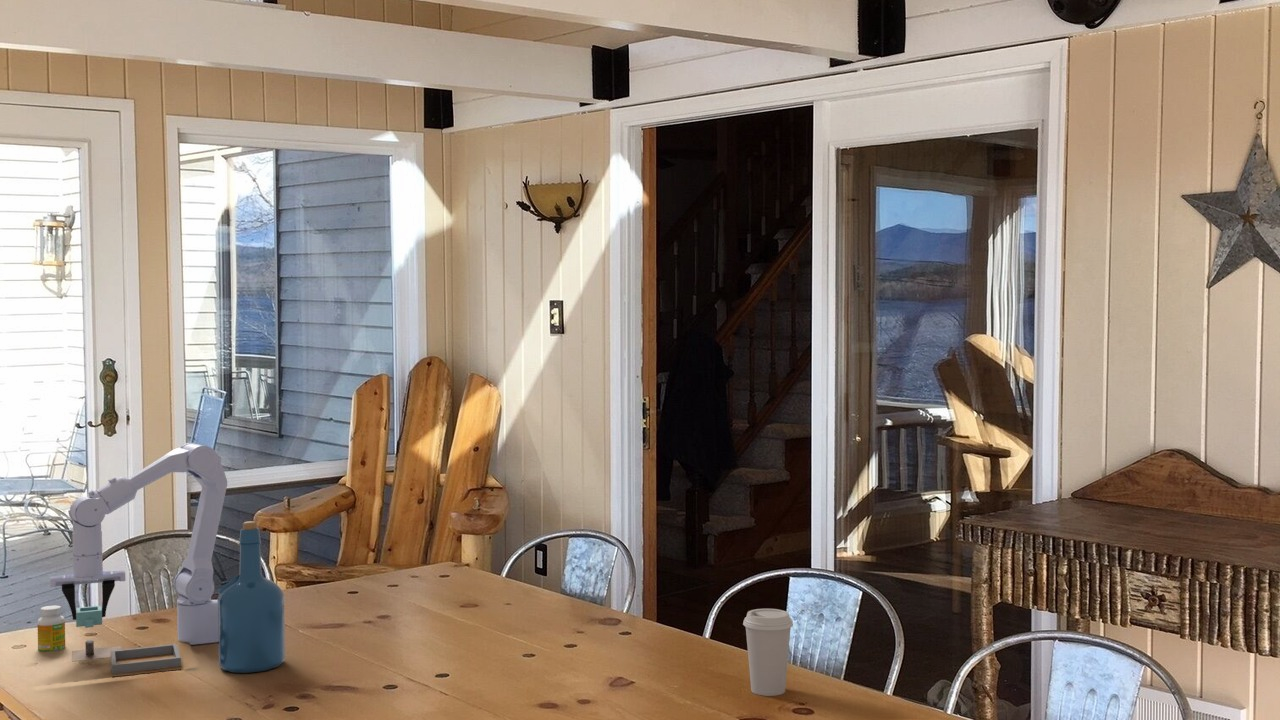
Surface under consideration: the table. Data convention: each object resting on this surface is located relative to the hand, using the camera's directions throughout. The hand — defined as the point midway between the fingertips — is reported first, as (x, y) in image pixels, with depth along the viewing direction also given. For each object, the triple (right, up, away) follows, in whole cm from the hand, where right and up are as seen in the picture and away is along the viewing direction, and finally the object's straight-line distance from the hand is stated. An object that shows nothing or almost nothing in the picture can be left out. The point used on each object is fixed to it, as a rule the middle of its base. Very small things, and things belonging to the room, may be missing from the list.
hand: (89, 617), depth 264 cm
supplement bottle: (-11, -9, +5) cm, 15 cm away
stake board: (+1, -9, +1) cm, 9 cm away
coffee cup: (+142, -9, -26) cm, 144 cm away
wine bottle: (+36, -9, -6) cm, 38 cm away
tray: (+14, -9, -6) cm, 18 cm away
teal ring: (0, -1, 0) cm, 1 cm away
